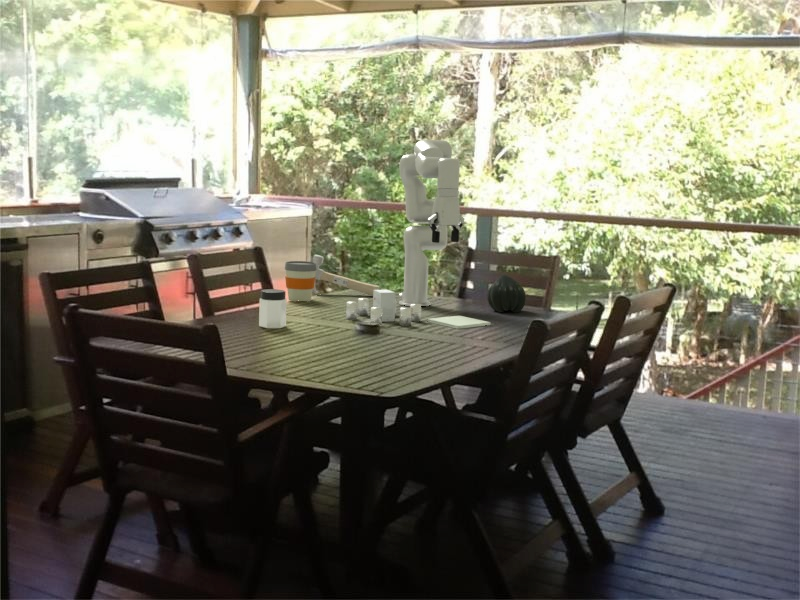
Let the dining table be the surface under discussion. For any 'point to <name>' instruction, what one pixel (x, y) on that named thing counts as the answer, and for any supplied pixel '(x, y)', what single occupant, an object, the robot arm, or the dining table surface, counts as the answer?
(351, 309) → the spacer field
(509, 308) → the squash
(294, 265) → the reusable coffee cup
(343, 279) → the hammer
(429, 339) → the dining table surface
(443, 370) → the dining table surface
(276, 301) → the jar
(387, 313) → the small box
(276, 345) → the dining table surface
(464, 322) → the pad
